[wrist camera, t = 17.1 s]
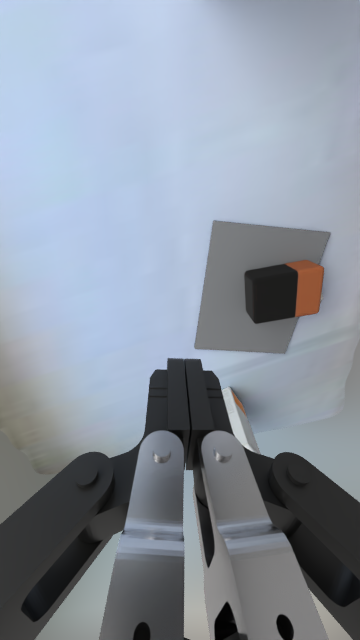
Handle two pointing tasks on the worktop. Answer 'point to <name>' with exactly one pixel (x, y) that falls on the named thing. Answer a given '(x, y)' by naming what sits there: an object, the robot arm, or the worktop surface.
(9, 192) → the worktop surface
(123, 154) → the worktop surface
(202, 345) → the rubber mat
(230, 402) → the skincare box
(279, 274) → the battery
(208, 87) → the worktop surface
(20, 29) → the worktop surface
